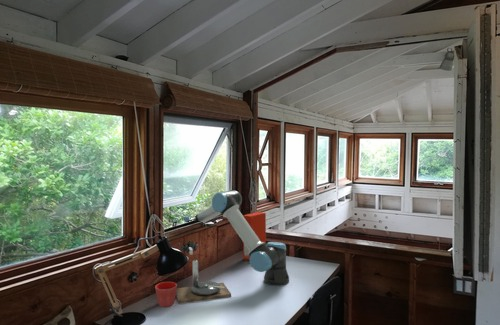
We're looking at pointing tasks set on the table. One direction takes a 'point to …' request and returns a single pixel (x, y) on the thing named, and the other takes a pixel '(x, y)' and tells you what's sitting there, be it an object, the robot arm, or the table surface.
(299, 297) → the table surface
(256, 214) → the file binder
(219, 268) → the table surface
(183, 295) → the walnut base board
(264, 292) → the table surface
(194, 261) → the wheel
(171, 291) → the flower pot
